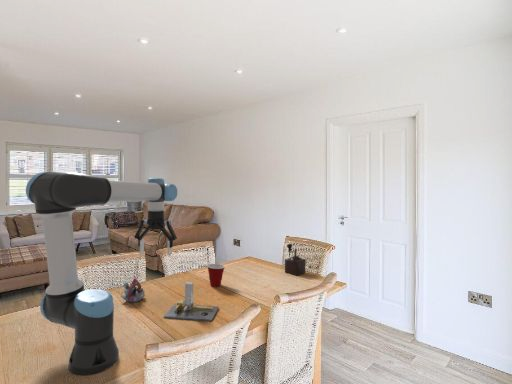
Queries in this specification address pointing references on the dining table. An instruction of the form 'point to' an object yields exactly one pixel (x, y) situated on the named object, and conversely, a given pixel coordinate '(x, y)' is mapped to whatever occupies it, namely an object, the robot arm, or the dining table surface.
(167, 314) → the bolt plate
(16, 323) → the dining table surface
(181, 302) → the gauge rail
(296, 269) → the dark box with lever
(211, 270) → the plastic cup
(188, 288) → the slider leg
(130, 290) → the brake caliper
